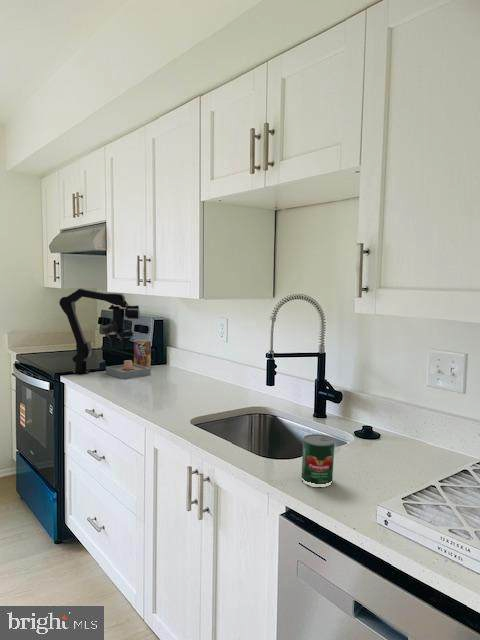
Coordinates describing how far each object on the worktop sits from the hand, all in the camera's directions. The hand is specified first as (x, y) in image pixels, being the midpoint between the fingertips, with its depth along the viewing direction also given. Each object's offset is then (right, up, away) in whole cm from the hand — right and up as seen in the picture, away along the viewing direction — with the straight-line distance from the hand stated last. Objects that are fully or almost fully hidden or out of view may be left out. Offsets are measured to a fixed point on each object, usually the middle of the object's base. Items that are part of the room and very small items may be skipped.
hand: (117, 349), depth 239 cm
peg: (+5, -13, 0) cm, 14 cm away
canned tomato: (+81, -27, -119) cm, 146 cm away
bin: (+5, -13, 0) cm, 14 cm away
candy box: (+9, -11, +17) cm, 23 cm away
